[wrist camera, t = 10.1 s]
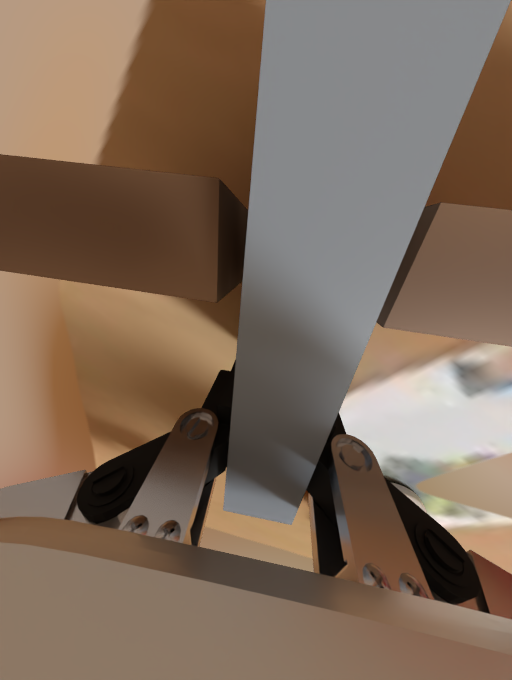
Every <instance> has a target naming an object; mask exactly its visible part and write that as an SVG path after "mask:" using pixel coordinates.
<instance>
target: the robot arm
mask: <svg viewBox="0 0 512 680" xmlns="http://www.w3.org/2000/svg"><path fill="white" fill-rule="evenodd" d="M235 365H236V360H235V362H234V365H233V367H232V370H231V371H226V370H220V372H219V374H218V376H217V378H216V380H215V382H214V384H213V386H212V388H211V390H210V392H209V394H208V396H207V398H206V400H205V402H204V404H203V406H202V408H197V409H193V410H190V411H188V412H186V413H184V414H183V415H182V416H181V417H180V418H179V419H178V421H177V422H176V424H175V426H174V428H173V430H172V431H171V432H169V433H167V434H165V435H163V436H161V437H158V438H156V439H154V440H152V441H150V442H148V443H146V444H144V445H141V446H139V447H137V448H135V449H133V450H131V451H129V452H126V453H124V454H122V455H120V456H118V457H116V458H114V459H111V460H109V461H107V462H106V463H104V464H102V465H101V466H99V467H98V468H97V469H96V470H94V471H93V472H89V473H87V471H86V470H82V471H77V472H73V473H68V474H64V475H59V476H54V477H50V478H45V479H41V480H36V481H31V482H27V483H22V484H17V485H13V486H9V487H5V488H2V489H0V680H512V575H511V574H510V573H508V572H506V571H505V570H503V569H502V568H500V567H498V566H497V565H495V564H493V563H492V562H490V561H488V560H487V559H485V558H483V557H482V556H480V555H478V554H477V553H475V552H473V551H472V550H469V551H467V552H466V551H465V550H464V549H463V548H462V546H461V545H460V544H459V543H458V541H457V540H456V539H455V538H454V537H453V536H452V535H451V534H450V533H449V532H448V531H447V530H446V529H445V528H443V527H442V526H441V525H440V524H439V523H438V522H436V521H435V520H434V519H433V518H432V517H430V516H429V515H428V514H427V511H426V509H425V507H424V505H423V503H422V501H421V499H420V498H419V497H418V495H417V494H415V493H414V492H413V491H411V490H410V489H408V488H406V487H404V486H401V485H399V484H396V483H392V482H389V481H388V480H387V479H386V478H385V477H384V476H383V474H382V471H381V469H380V467H379V464H378V462H377V459H376V457H375V456H374V454H373V452H372V451H371V450H370V448H369V447H368V446H367V445H366V444H364V443H363V442H362V441H361V440H359V439H357V438H356V437H353V436H351V435H347V434H346V432H345V429H344V426H343V423H342V421H341V418H340V415H339V412H338V415H337V417H336V419H335V422H334V424H333V427H332V429H331V431H330V434H329V436H328V439H327V441H326V443H325V446H324V448H323V451H322V453H321V455H320V458H319V460H318V463H317V465H316V467H315V470H314V472H313V474H312V477H311V479H310V482H309V484H308V486H307V489H306V490H307V491H308V493H309V494H308V500H309V514H310V527H311V541H312V554H313V568H314V572H309V571H304V570H300V569H296V568H291V567H287V566H282V565H278V564H274V563H269V562H265V561H260V560H256V559H251V558H247V557H242V556H238V555H233V554H229V553H224V552H220V551H215V550H211V549H206V548H202V547H200V543H201V539H202V535H203V531H204V527H205V522H206V518H207V514H208V510H209V506H210V502H211V498H212V494H213V489H214V485H215V481H216V477H217V476H218V475H220V474H221V473H223V472H224V471H225V469H226V467H227V460H228V449H229V437H230V425H231V413H232V401H233V389H234V377H235Z"/></svg>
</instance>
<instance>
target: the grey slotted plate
mask: <svg viewBox="0 0 512 680" xmlns="http://www.w3.org/2000/svg"><path fill="white" fill-rule="evenodd" d="M510 1H511V0H266V7H265V19H264V31H263V43H262V55H261V66H260V78H259V90H258V102H257V114H256V126H255V138H254V150H253V162H252V174H251V186H250V198H249V210H248V222H247V234H246V246H245V258H244V269H243V281H242V293H241V305H240V317H239V329H238V341H237V353H236V365H235V377H234V389H233V401H232V413H231V425H230V437H229V449H228V460H227V472H226V484H225V496H224V508H223V510H224V511H228V512H233V513H238V514H243V515H247V516H252V517H257V518H262V519H266V520H271V521H276V522H280V523H285V524H290V525H292V522H293V520H294V518H295V515H296V513H297V510H298V508H299V506H300V503H301V501H302V498H303V496H304V494H305V491H306V489H307V486H308V484H309V482H310V479H311V477H312V474H313V472H314V470H315V467H316V465H317V463H318V460H319V458H320V455H321V453H322V451H323V448H324V446H325V443H326V441H327V439H328V436H329V434H330V431H331V429H332V427H333V424H334V422H335V419H336V417H337V415H338V412H339V410H340V408H341V405H342V403H343V400H344V398H345V396H346V393H347V391H348V388H349V386H350V384H351V381H352V379H353V376H354V374H355V372H356V369H357V367H358V365H359V362H360V360H361V357H362V355H363V353H364V350H365V348H366V345H367V343H368V341H369V338H370V336H371V333H372V331H373V329H374V326H375V324H376V321H377V319H378V317H379V314H380V312H381V310H382V307H383V305H384V302H385V300H386V298H387V295H388V293H389V290H390V288H391V286H392V283H393V281H394V278H395V276H396V274H397V271H398V269H399V267H400V264H401V262H402V259H403V257H404V255H405V252H406V250H407V247H408V245H409V243H410V240H411V238H412V235H413V233H414V231H415V228H416V226H417V223H418V221H419V219H420V216H421V214H422V212H423V209H424V207H425V204H426V202H427V200H428V197H429V195H430V192H431V190H432V188H433V185H434V183H435V180H436V178H437V176H438V173H439V171H440V169H441V166H442V164H443V161H444V159H445V157H446V154H447V152H448V149H449V147H450V145H451V142H452V140H453V137H454V135H455V133H456V130H457V128H458V125H459V123H460V121H461V118H462V116H463V114H464V111H465V109H466V106H467V104H468V102H469V99H470V97H471V94H472V92H473V90H474V87H475V85H476V82H477V80H478V78H479V75H480V73H481V70H482V68H483V66H484V63H485V61H486V59H487V56H488V54H489V51H490V49H491V47H492V44H493V42H494V39H495V37H496V35H497V32H498V30H499V27H500V25H501V23H502V20H503V18H504V16H505V13H506V11H507V8H508V6H509V4H510Z"/></svg>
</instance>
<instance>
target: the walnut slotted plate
mask: <svg viewBox="0 0 512 680" xmlns="http://www.w3.org/2000/svg"><path fill="white" fill-rule="evenodd" d="M247 222H248V210H247V209H246V208H245V207H244V205H243V204H242V203H241V202H240V201H239V200H238V199H237V198H236V197H235V195H234V194H233V193H232V192H231V191H230V190H229V189H228V188H227V186H226V185H225V184H224V183H223V182H222V181H221V180H220V179H219V178H212V177H203V176H194V175H185V174H175V173H166V172H157V171H148V170H139V169H130V168H120V167H111V166H102V165H93V164H84V163H74V162H64V161H56V160H46V159H37V158H29V157H20V156H9V155H1V154H0V271H7V272H14V273H20V274H27V275H34V276H41V277H47V278H54V279H61V280H67V281H74V282H81V283H88V284H94V285H101V286H108V287H115V288H121V289H128V290H135V291H141V292H148V293H155V294H162V295H168V296H175V297H182V298H189V299H195V300H202V301H209V302H215V303H217V302H218V301H219V300H221V299H222V298H223V297H224V296H225V295H226V294H228V293H229V292H230V291H231V290H232V289H234V288H235V287H236V286H237V285H238V284H239V283H241V282H242V281H243V269H244V258H245V246H246V234H247ZM376 322H377V323H378V324H380V325H381V326H382V327H384V328H390V329H397V330H404V331H410V332H417V333H424V334H431V335H437V336H444V337H451V338H458V339H464V340H471V341H478V342H484V343H491V344H498V345H505V346H511V347H512V210H506V209H496V208H487V207H478V206H469V205H460V204H451V203H437V204H434V205H430V206H427V207H424V209H423V212H422V214H421V216H420V219H419V221H418V223H417V226H416V228H415V231H414V233H413V235H412V238H411V240H410V243H409V245H408V247H407V250H406V252H405V255H404V257H403V259H402V262H401V264H400V267H399V269H398V271H397V274H396V276H395V278H394V281H393V283H392V286H391V288H390V290H389V293H388V295H387V298H386V300H385V302H384V305H383V307H382V310H381V312H380V314H379V317H378V319H377V321H376Z"/></svg>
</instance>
